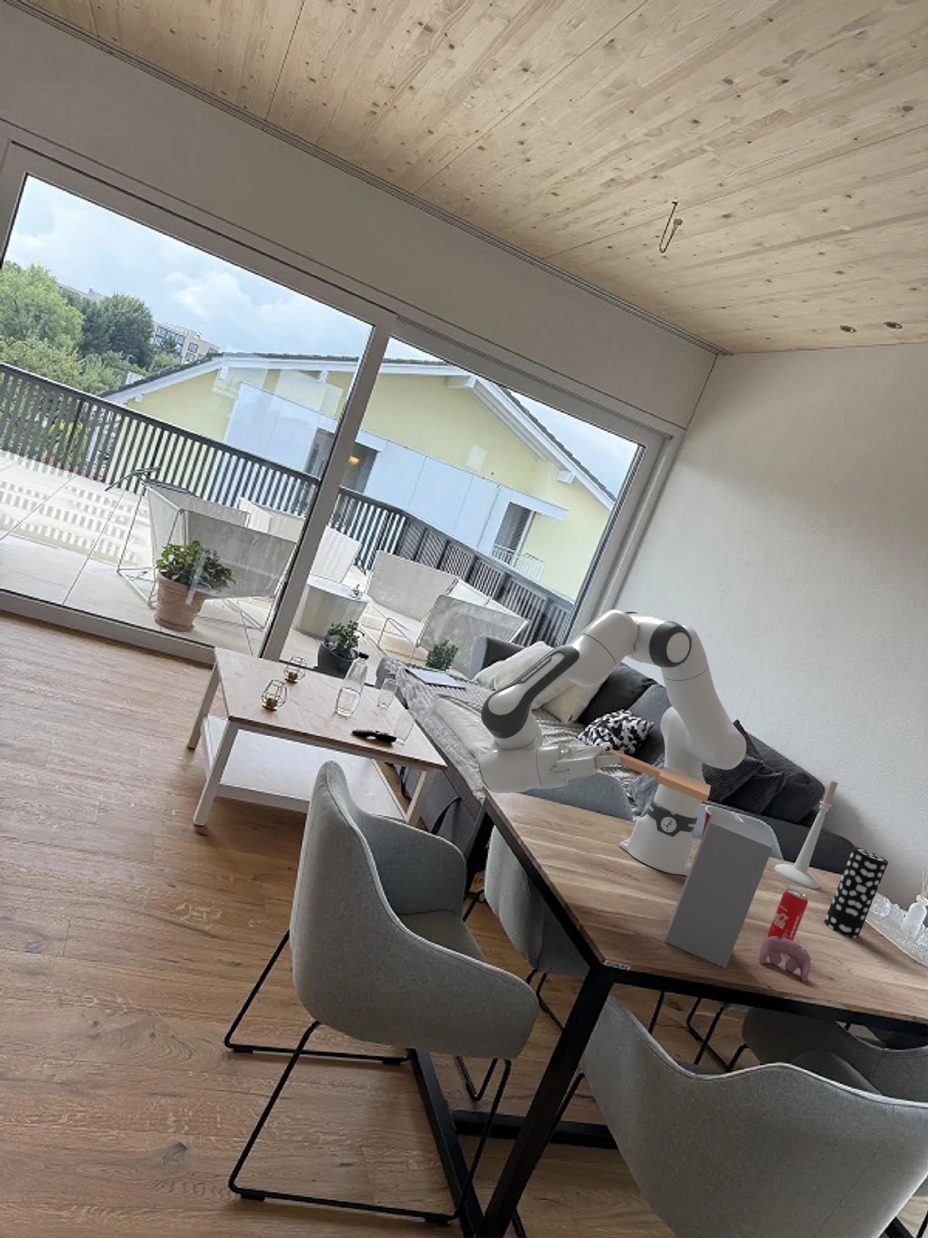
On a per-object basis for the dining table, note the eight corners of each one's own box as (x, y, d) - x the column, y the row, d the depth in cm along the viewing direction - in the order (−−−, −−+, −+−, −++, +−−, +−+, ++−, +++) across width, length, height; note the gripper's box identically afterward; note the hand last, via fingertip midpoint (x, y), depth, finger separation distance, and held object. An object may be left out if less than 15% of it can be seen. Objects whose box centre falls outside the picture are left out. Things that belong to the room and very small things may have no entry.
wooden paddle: (611, 753, 200) (613, 746, 200) (708, 792, 194) (710, 785, 194) (603, 761, 188) (605, 753, 188) (706, 802, 183) (708, 795, 183)
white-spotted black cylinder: (843, 937, 229) (874, 860, 227) (817, 919, 236) (846, 845, 234) (865, 939, 233) (895, 864, 231) (838, 922, 240) (867, 849, 238)
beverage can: (791, 953, 203) (811, 902, 202) (767, 944, 204) (787, 893, 203) (787, 944, 208) (807, 894, 207) (764, 935, 209) (783, 885, 208)
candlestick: (799, 872, 279) (836, 776, 276) (828, 892, 267) (868, 793, 264) (765, 863, 274) (803, 767, 271) (793, 884, 262) (833, 783, 259)
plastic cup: (685, 846, 262) (700, 806, 261) (697, 842, 271) (712, 803, 270) (721, 865, 256) (737, 823, 255) (733, 860, 265) (748, 820, 264)
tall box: (670, 921, 197) (712, 810, 195) (726, 946, 194) (770, 833, 191) (665, 941, 184) (710, 822, 182) (725, 969, 181) (772, 848, 179)
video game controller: (802, 985, 192) (812, 951, 194) (807, 983, 188) (817, 949, 190) (754, 964, 194) (764, 931, 197) (758, 961, 190) (768, 928, 193)
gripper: (543, 757, 187) (612, 747, 184) (562, 744, 207) (625, 735, 203) (548, 789, 187) (618, 780, 183) (567, 773, 207) (630, 765, 203)
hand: (622, 756), depth 193 cm, fingers closed on wooden paddle, 4 cm apart
